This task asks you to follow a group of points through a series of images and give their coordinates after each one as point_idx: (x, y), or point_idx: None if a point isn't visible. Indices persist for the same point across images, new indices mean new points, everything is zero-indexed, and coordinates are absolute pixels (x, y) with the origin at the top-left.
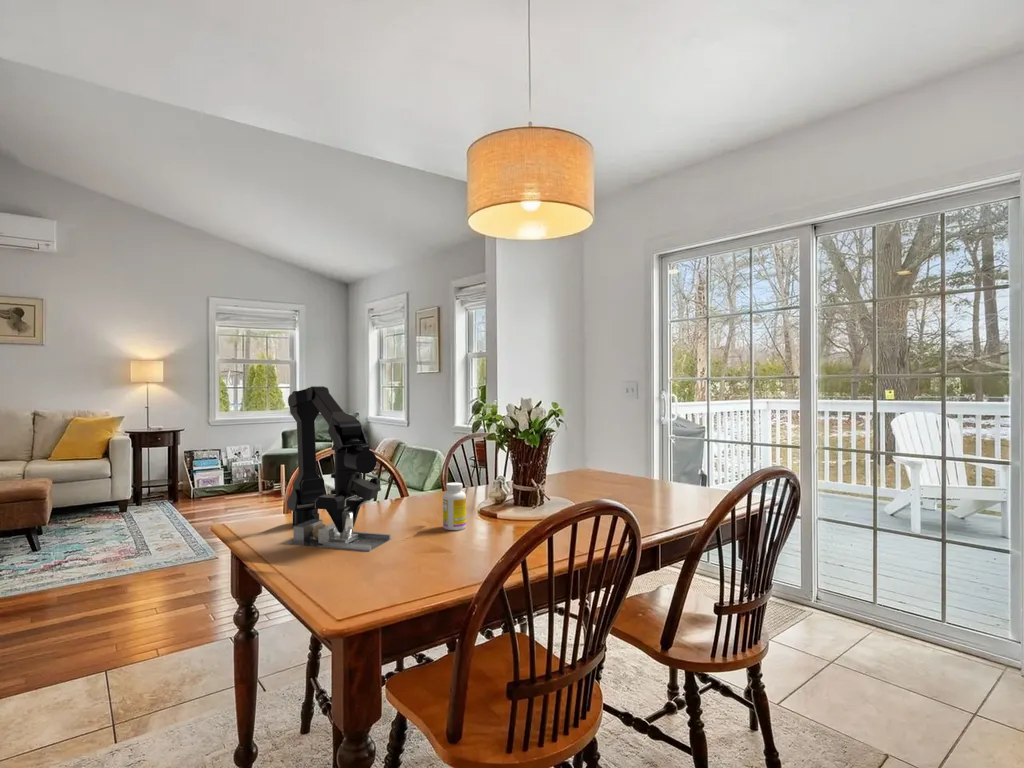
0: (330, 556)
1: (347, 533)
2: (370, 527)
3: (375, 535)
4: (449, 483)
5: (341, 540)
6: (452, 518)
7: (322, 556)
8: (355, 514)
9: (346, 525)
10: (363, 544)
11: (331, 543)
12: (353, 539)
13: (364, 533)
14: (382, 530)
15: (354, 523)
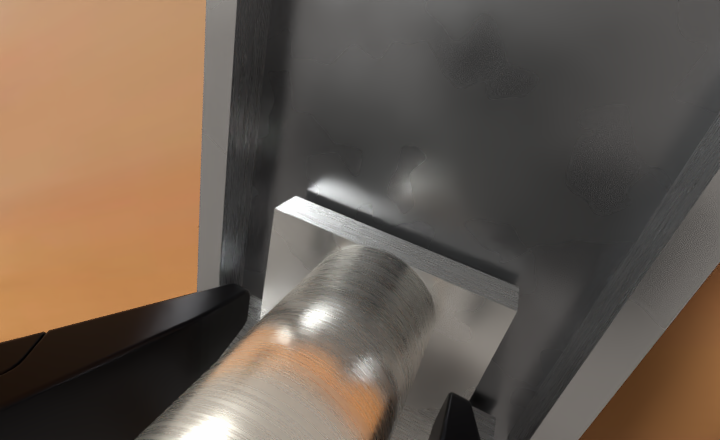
0: (671, 360)
1: (415, 325)
2: (6, 172)
3: (248, 7)
4: None
5: (496, 344)
6: None
7: (653, 416)
8: (80, 375)
9: (384, 416)
10: (491, 89)
11: (583, 426)
12: (364, 228)
13: (229, 149)
14: (14, 79)
15: (202, 299)
